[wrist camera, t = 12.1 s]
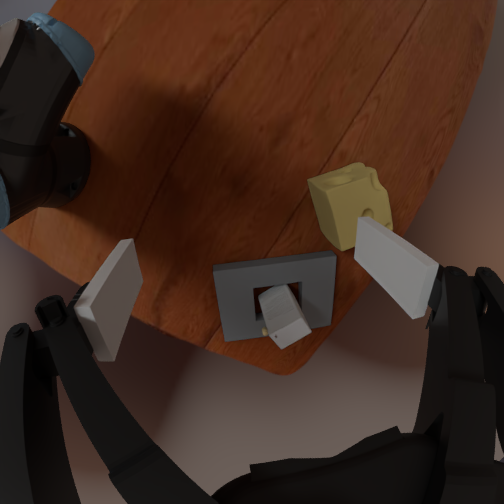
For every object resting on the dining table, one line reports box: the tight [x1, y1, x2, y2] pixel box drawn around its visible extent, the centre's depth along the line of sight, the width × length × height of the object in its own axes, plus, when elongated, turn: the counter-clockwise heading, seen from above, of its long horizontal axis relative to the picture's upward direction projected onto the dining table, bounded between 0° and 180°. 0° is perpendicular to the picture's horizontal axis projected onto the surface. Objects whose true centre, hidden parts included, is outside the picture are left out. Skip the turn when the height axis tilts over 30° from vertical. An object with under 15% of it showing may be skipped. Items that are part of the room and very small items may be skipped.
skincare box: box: [258, 284, 312, 349], centre depth 48 cm, size 6×4×12 cm
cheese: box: [307, 163, 393, 251], centre depth 42 cm, size 10×11×10 cm
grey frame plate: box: [213, 250, 336, 342], centre depth 51 cm, size 22×16×4 cm
